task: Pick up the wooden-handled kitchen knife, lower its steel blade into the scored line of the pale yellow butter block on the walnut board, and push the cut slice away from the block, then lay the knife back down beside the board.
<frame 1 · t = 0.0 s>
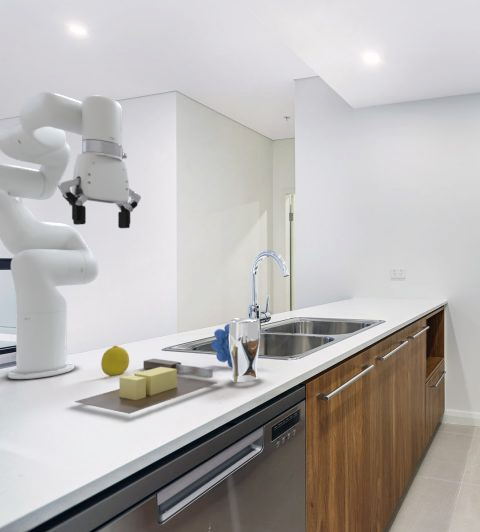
hand: (102, 226, 92), 37 cm above the counter, tool pointing down, fingers open, 9 cm apart
beer glass: (244, 384, 93), on the counter
butter slice: (132, 397, 80), point 1 cm above the counter, touching board
butter block: (156, 389, 84), point 1 cm above the counter, touching board
lemon: (115, 379, 97), on the counter
board: (151, 397, 84), on the counter
knife: (162, 374, 101), on the counter
grapes: (234, 369, 106), on the counter
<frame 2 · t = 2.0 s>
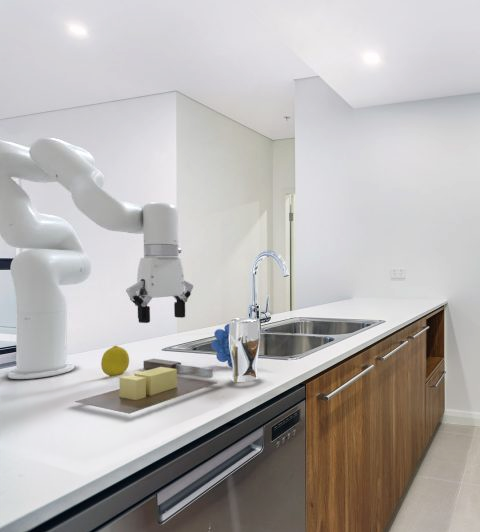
hand: (162, 319, 101), 14 cm above the counter, tool pointing down, fingers open, 9 cm apart
nothing on the counter moved.
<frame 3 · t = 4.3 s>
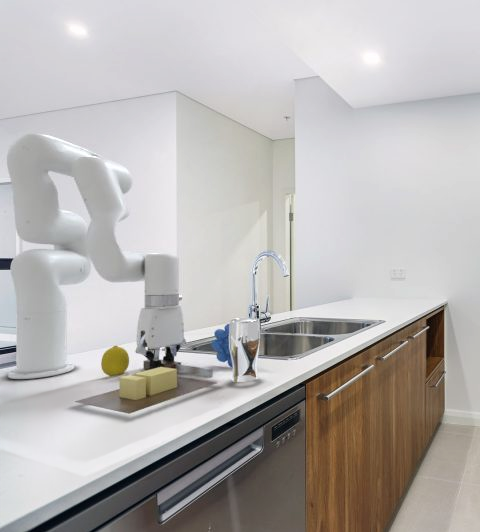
hand: (162, 373, 101), 0 cm above the counter, tool pointing down, fingers closed on knife, 2 cm apart
knife: (162, 374, 101), on the counter, touching gripper
everything else where it was.
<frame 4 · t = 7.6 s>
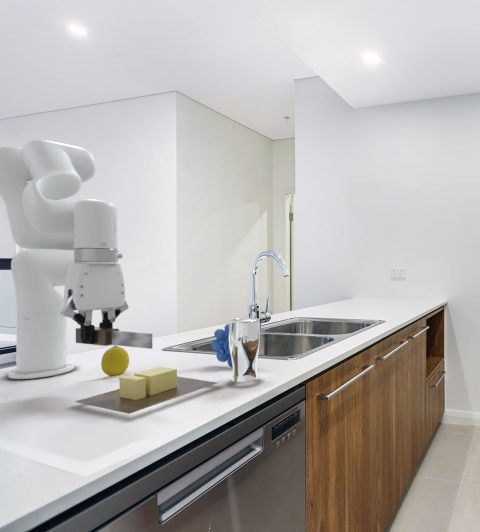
hand: (97, 341, 86), 11 cm above the counter, tool pointing down, fingers closed on knife, 2 cm apart
knife: (97, 343, 86), point 11 cm above the counter, touching gripper
everything else where it was.
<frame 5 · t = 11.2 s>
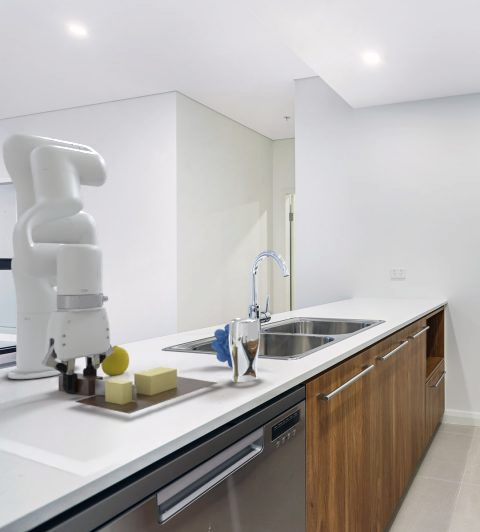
hand: (80, 389, 84), 2 cm above the counter, tool pointing down, fingers closed on knife, 2 cm apart
butter slice: (118, 401, 77), point 1 cm above the counter, touching board, knife
knife: (80, 391, 84), point 1 cm above the counter, touching butter slice, gripper
everything else where it was.
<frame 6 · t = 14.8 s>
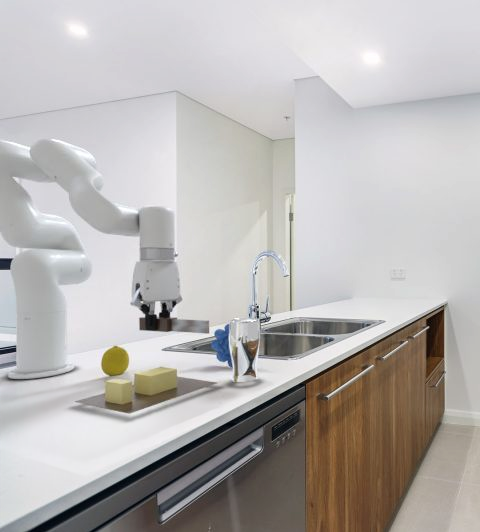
hand: (157, 328, 100), 12 cm above the counter, tool pointing down, fingers closed on knife, 2 cm apart
butter slice: (118, 401, 77), point 1 cm above the counter, touching board
knife: (158, 330, 99), point 11 cm above the counter, touching gripper
everything else where it was.
when the fingers open (0 cm above the counter, at t = 17.5 s): knife stays where it is, on the counter.
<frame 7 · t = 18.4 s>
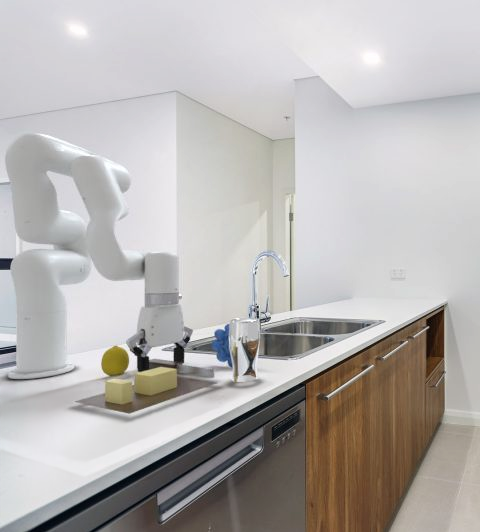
hand: (161, 367, 101), 2 cm above the counter, tool pointing down, fingers open, 9 cm apart
knife: (163, 374, 101), on the counter
everything else where it was.
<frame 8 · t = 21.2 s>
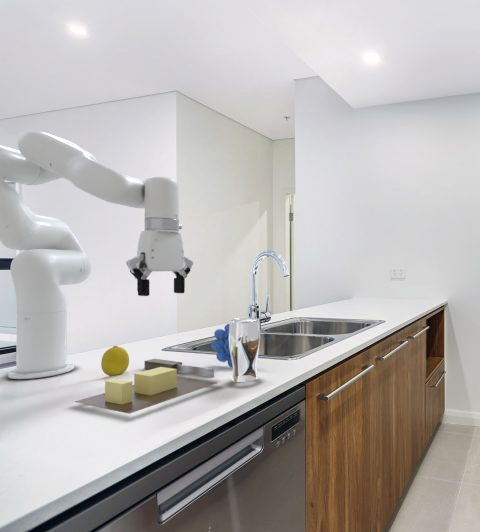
hand: (162, 294, 101), 20 cm above the counter, tool pointing down, fingers open, 9 cm apart
nothing on the counter moved.
at the end: butter slice moved 2.7 cm from its start; butter block moved 0.0 cm from its start; the gripper is holding nothing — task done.
